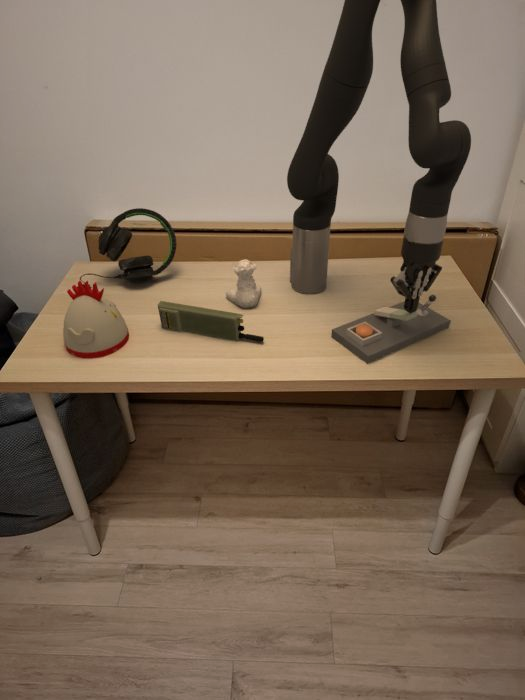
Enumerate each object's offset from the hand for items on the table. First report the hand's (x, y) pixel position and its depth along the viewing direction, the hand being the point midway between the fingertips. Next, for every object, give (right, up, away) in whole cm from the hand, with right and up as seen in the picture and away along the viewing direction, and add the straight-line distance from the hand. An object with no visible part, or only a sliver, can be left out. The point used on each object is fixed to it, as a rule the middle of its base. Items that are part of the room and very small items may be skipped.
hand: (409, 310), depth 103 cm
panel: (-2, -4, +7) cm, 8 cm away
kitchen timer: (-69, -6, +6) cm, 70 cm away
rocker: (-2, -1, +4) cm, 5 cm away
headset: (-67, +10, +28) cm, 73 cm away
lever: (+6, +1, +9) cm, 11 cm away
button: (-10, -5, +2) cm, 11 cm away
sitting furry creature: (-36, +4, +19) cm, 40 cm away
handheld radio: (-43, -5, +7) cm, 44 cm away
